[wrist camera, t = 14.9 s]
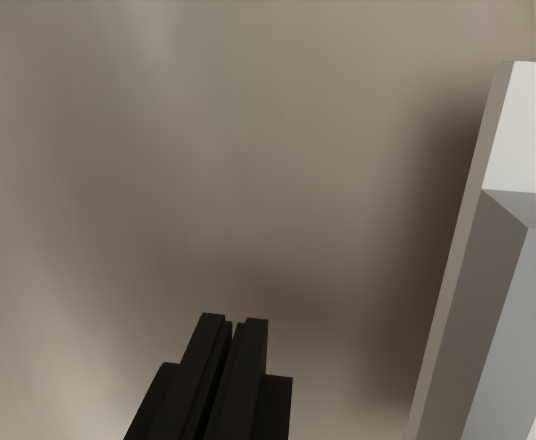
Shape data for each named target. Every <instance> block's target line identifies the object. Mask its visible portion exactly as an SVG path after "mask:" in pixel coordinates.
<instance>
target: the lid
mask: <svg viewBox="0 0 536 440" xmlns="http://www.w3.org/2000/svg"><path fill="white" fill-rule="evenodd" d="M403 440H536V62H523V61H504V60H497V61H496V65H495V69H494V73H493V78H492V82H491V86H490V90H489V94H488V98H487V102H486V106H485V110H484V114H483V118H482V122H481V126H480V130H479V134H478V138H477V143H476V147H475V151H474V155H473V159H472V163H471V167H470V171H469V175H468V179H467V183H466V187H465V191H464V195H463V199H462V203H461V207H460V212H459V216H458V220H457V224H456V228H455V232H454V236H453V240H452V244H451V248H450V252H449V256H448V260H447V264H446V268H445V272H444V277H443V281H442V285H441V289H440V293H439V297H438V301H437V305H436V309H435V313H434V317H433V321H432V325H431V329H430V333H429V337H428V341H427V346H426V350H425V354H424V358H423V362H422V366H421V370H420V374H419V378H418V382H417V386H416V390H415V394H414V398H413V402H412V406H411V411H410V415H409V419H408V423H407V427H406V431H405V435H404V439H403Z"/></svg>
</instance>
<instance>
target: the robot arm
mask: <svg viewBox="0 0 536 440" xmlns="http://www.w3.org/2000/svg"><path fill="white" fill-rule="evenodd" d="M267 339H268V320H267V319H258V318H249V317H247V319H246V322H245V323H241V322H238V324H237V327H236V330H235V333H234V337H233V340H232V321H225V315H221V314H212V313H202V315H201V317H200V319H199V322H198V324H197V326H196V328H195V331H194V333H193V335H192V337H191V340H190V342H189V344H188V346H187V349H186V351H185V353H184V355H183V357H182V360H181V362H180V364H177V363H169V362H164V363H163V364H162V365H161V366H160V368H159V370H158V372H157V374H156V376H155V378H154V379H153V381H152V383H151V385H150V387H149V389H148V391H147V393H146V395H145V397H144V399H143V401H142V403H141V405H140V407H139V409H138V411H137V413H136V415H135V417H134V419H133V421H132V423H131V425H130V427H129V429H128V431H127V433H126V435H125V437H124V439H123V440H288V434H289V421H290V408H291V396H292V383H293V378H292V377H283V376H275V375H267V374H265V372H266V355H267Z"/></svg>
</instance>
